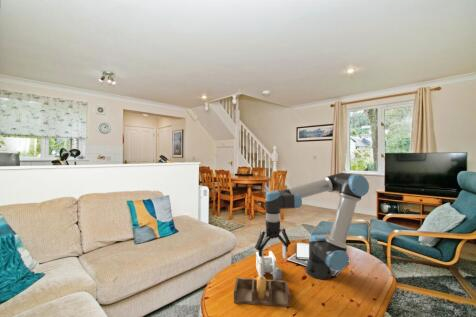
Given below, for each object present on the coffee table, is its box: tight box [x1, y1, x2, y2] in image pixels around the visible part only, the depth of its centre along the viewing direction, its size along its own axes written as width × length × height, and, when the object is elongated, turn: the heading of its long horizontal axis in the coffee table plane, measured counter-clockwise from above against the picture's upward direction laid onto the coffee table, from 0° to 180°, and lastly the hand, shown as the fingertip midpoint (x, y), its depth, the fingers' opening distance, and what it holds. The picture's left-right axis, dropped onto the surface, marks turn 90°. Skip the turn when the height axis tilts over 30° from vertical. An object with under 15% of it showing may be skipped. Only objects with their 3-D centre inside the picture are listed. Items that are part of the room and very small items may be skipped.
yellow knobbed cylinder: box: [256, 275, 267, 299], centre depth 110 cm, size 5×5×10 cm
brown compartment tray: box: [233, 277, 291, 308], centre depth 112 cm, size 27×12×6 cm, turn 85°
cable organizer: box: [255, 250, 278, 277], centre depth 135 cm, size 15×11×12 cm
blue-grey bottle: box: [272, 267, 283, 281], centre depth 121 cm, size 5×5×10 cm
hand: (273, 260), depth 117 cm, fingers open, 13 cm apart
